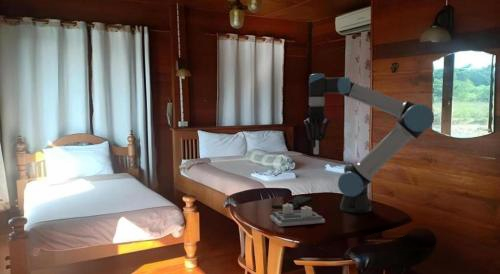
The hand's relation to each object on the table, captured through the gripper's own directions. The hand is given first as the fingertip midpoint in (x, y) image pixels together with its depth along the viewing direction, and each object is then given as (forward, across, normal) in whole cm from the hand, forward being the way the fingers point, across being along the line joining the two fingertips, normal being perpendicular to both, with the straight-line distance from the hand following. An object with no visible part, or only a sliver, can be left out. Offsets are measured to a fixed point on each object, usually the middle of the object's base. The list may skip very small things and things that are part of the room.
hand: (316, 153), depth 200 cm
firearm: (+30, +5, -21) cm, 37 cm away
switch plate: (+29, +14, +10) cm, 34 cm away
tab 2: (+28, +11, +14) cm, 33 cm away
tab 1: (+28, +17, +7) cm, 33 cm away
